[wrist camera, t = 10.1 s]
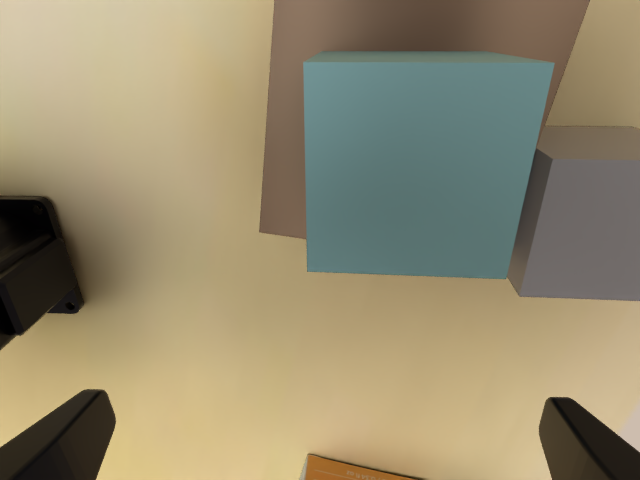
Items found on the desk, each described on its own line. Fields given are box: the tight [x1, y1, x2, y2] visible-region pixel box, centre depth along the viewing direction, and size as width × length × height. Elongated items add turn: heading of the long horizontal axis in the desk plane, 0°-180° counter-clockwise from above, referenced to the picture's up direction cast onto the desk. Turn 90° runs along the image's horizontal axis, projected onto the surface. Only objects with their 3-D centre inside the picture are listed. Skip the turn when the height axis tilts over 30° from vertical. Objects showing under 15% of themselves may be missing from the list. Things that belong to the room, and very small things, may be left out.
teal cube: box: [303, 51, 555, 279], centre depth 12 cm, size 5×5×5 cm
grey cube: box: [507, 126, 640, 301], centre depth 16 cm, size 5×5×5 cm
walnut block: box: [259, 0, 590, 239], centre depth 16 cm, size 9×9×4 cm
